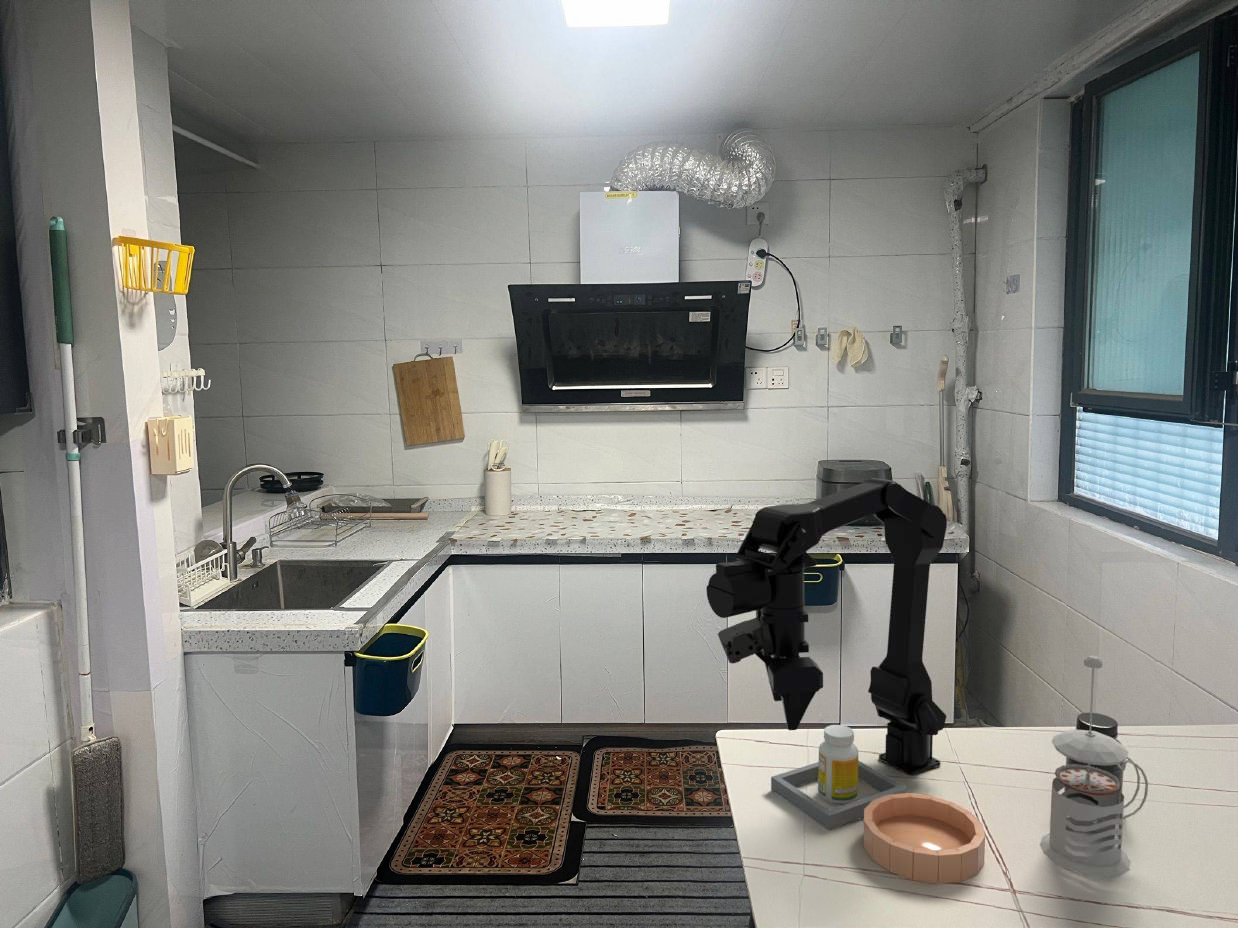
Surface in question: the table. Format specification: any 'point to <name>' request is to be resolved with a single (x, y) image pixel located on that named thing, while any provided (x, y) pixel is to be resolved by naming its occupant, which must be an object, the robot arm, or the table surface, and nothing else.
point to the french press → (1089, 802)
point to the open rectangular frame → (820, 813)
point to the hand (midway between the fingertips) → (784, 714)
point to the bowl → (924, 838)
